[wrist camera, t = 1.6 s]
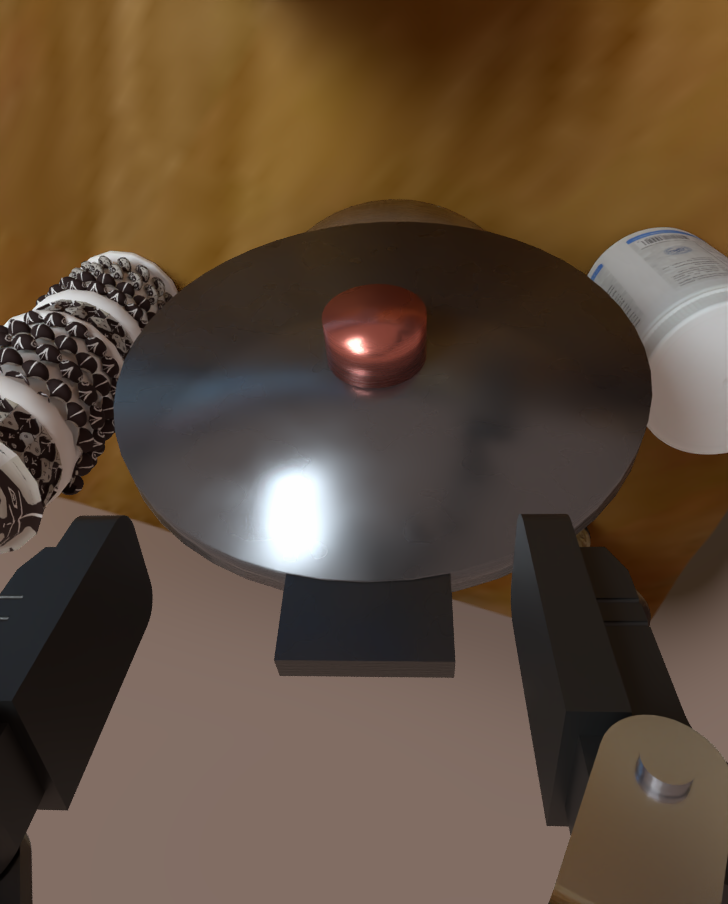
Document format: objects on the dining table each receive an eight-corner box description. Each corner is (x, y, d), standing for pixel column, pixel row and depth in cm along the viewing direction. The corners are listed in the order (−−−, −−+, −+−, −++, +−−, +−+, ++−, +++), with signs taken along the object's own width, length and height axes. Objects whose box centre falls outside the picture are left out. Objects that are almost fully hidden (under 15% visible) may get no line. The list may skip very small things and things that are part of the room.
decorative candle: (135, 220, 48) (-80, 381, 27) (213, 329, 52) (80, 543, 31) (41, 281, 51) (-221, 470, 30) (122, 380, 55) (-57, 608, 34)
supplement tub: (635, 376, 52) (705, 489, 40) (548, 300, 49) (595, 395, 37) (746, 281, 48) (864, 374, 35) (658, 191, 45) (753, 258, 32)
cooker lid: (590, 235, 35) (602, 173, 32) (746, 682, 19) (792, 625, 16) (186, 250, 36) (169, 193, 34) (16, 674, 20) (-38, 622, 18)
